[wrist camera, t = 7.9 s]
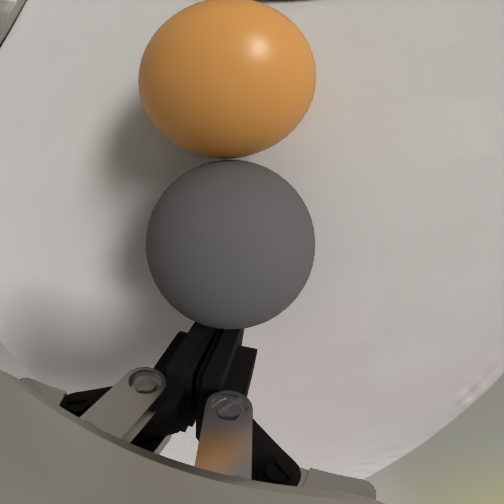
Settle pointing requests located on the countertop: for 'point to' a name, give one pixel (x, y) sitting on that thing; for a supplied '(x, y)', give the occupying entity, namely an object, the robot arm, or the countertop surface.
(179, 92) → the object ball
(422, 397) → the countertop surface
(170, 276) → the dark gray ball
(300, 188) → the countertop surface
